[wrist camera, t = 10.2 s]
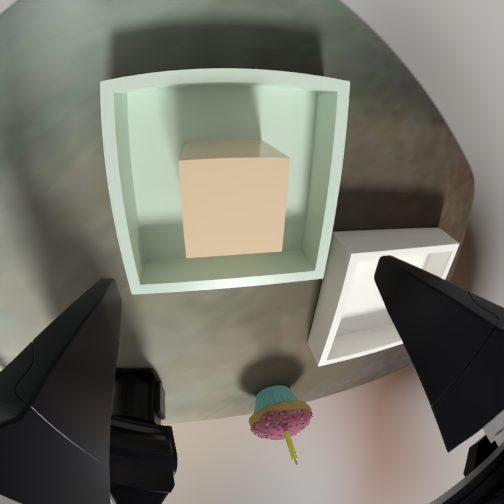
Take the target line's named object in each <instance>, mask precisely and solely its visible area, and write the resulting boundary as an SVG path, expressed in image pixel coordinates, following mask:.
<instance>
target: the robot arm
mask: <svg viewBox="0 0 504 504" xmlns="http://www.w3.org/2000/svg"><path fill="white" fill-rule="evenodd" d="M374 281H375V283H376V286H377V288H378V290H379V293H380V295H381V297H382V300H383V302H384V305H385V307H386V309H387V312H388V314H389V316H390V318H391V320H392V322H393V324H394V326H395V328H396V330H397V332H398V334H399V336H400V338H401V340H402V342H403V344H404V346H405V348H406V350H407V352H408V355H409V357H410V359H411V361H412V363H413V365H414V368H415V370H416V372H417V374H418V376H419V379H420V381H421V383H422V386H423V388H424V390H425V393H426V395H427V398H428V400H429V402H430V405H431V408H432V411H433V413H434V416H435V418H436V421H437V424H438V427H439V430H440V432H441V435H442V438H443V441H444V444H445V447H446V449H447V452H448V453H449V452H450V451H452V450H453V449H455V448H456V447H458V446H459V445H461V444H462V443H464V442H465V441H466V440H468V439H469V438H470V437H472V436H473V435H474V434H475V433H477V432H478V431H479V430H480V429H483V430H484V432H485V435H484V436H483V437H482V438H481V439H479V440H478V441H477V442H476V443H475V444H473V445H472V446H471V447H470V448H469V452H468V456H467V461H466V466H465V469H464V476H465V478H464V479H463V480H461V481H460V482H459V483H458V484H456V485H455V486H454V487H452V488H451V489H450V490H448V491H447V492H446V493H444V494H443V495H441V496H440V497H439V498H437V499H436V500H434V501H433V502H431V503H430V504H504V308H503V307H501V306H499V305H496V304H494V303H492V302H490V301H488V300H486V299H484V298H482V297H479V296H477V295H475V294H473V293H471V292H469V291H467V290H465V289H463V288H461V287H459V286H457V285H455V284H453V283H451V282H449V281H447V280H444V279H442V278H440V277H438V276H436V275H434V274H432V273H429V272H427V271H425V270H423V269H421V268H418V267H416V266H414V265H412V264H409V263H407V262H405V261H403V260H400V259H398V258H396V257H394V256H391V255H386V256H381V257H380V258H379V260H378V264H377V267H376V270H375V273H374ZM121 306H122V304H121V297H120V294H119V291H118V288H117V285H116V282H115V280H114V279H113V278H102V279H100V280H99V281H98V282H97V283H96V284H94V285H93V286H92V287H91V288H90V289H89V290H87V291H86V292H85V293H84V294H83V295H82V296H80V297H79V298H78V299H77V300H76V301H75V302H74V303H73V304H71V305H70V306H69V307H68V308H67V309H66V310H65V311H64V312H63V313H61V314H60V315H59V316H58V317H57V318H56V319H55V320H54V321H53V322H52V323H51V324H50V325H49V326H47V327H46V328H45V329H44V330H43V331H42V332H41V333H40V334H39V335H38V336H37V337H36V338H35V339H34V340H33V343H32V342H31V343H30V344H29V345H28V346H27V347H26V348H25V349H24V350H23V351H22V352H21V353H20V354H19V355H18V356H17V357H16V358H15V359H14V360H13V361H12V362H10V363H9V364H8V365H7V366H6V367H5V368H4V369H3V370H2V371H1V372H0V504H111V502H110V499H111V500H112V502H113V503H114V504H162V502H163V501H164V499H165V498H166V496H167V495H168V493H170V492H171V491H172V489H173V487H174V485H175V484H174V477H173V475H175V473H176V470H177V452H176V447H175V442H174V437H173V431H172V427H171V426H163V425H161V420H164V419H165V391H164V389H163V386H162V384H161V382H160V381H158V379H157V377H156V375H155V372H154V371H153V370H152V369H116V364H117V357H118V349H119V336H120V319H121Z"/></svg>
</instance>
